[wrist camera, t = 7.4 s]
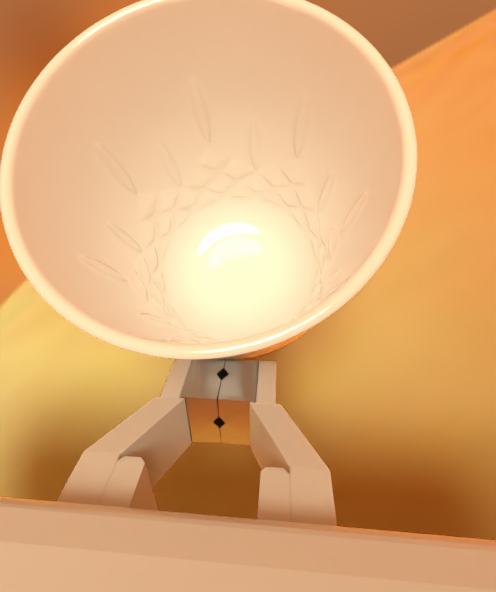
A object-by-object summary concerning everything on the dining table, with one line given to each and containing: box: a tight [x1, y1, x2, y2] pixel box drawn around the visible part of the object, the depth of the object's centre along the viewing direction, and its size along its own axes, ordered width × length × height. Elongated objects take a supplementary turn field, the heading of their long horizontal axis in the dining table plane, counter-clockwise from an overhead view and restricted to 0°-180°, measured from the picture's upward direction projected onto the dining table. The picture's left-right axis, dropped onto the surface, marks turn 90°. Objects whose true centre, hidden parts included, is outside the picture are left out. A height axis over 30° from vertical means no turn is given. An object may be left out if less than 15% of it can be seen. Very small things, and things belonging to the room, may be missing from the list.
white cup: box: [0, 0, 417, 360], centre depth 11 cm, size 8×8×10 cm
